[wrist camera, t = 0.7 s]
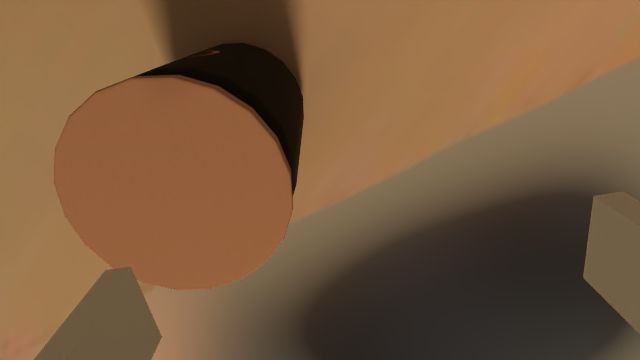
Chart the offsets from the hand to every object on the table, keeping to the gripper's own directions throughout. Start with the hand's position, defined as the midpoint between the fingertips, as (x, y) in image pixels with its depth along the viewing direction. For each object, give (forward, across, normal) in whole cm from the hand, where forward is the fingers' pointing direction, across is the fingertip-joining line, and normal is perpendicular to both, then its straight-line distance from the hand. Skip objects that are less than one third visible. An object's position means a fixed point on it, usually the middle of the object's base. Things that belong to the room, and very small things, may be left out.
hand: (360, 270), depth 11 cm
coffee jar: (+25, -8, 0) cm, 26 cm away
